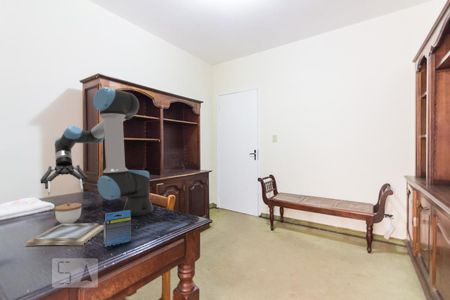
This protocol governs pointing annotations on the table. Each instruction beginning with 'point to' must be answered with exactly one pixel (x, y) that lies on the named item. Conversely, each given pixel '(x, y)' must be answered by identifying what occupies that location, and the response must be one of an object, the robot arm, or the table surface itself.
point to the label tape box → (117, 228)
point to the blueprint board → (67, 235)
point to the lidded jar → (68, 212)
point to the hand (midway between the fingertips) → (66, 191)
